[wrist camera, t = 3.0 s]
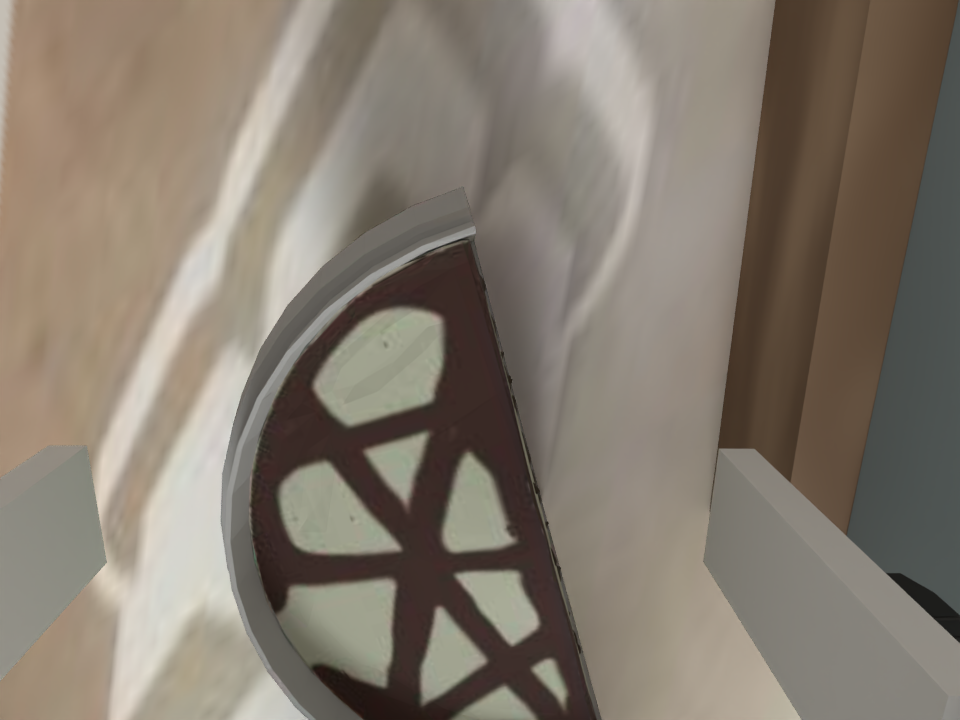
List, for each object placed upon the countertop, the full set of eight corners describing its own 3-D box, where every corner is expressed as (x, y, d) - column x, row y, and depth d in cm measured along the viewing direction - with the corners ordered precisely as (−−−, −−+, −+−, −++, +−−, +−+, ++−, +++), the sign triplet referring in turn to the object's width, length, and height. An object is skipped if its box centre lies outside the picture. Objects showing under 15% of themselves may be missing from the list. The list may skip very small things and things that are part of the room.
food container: (258, 237, 19) (57, 299, 9) (458, 183, 19) (466, 188, 9) (381, 583, 22) (327, 890, 13) (552, 539, 22) (628, 818, 13)
